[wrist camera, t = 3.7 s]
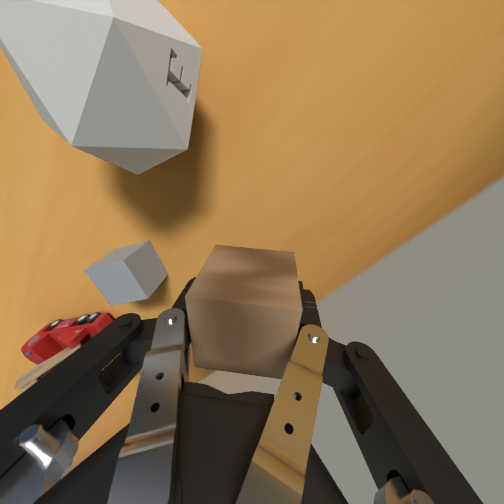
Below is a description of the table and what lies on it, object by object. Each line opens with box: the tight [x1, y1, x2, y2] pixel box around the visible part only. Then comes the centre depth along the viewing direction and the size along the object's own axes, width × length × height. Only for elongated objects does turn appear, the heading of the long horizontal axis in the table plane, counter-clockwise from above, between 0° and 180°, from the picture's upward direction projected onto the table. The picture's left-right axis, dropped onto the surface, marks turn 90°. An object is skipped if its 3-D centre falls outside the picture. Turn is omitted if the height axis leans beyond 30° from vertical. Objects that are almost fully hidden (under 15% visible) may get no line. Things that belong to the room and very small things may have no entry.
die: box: [0, 0, 203, 175], centre depth 11 cm, size 8×9×10 cm
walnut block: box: [185, 245, 303, 379], centre depth 12 cm, size 5×5×5 cm
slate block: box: [84, 240, 168, 306], centre depth 19 cm, size 4×4×4 cm
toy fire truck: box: [15, 312, 113, 393], centre depth 22 cm, size 3×14×10 cm, turn 106°
